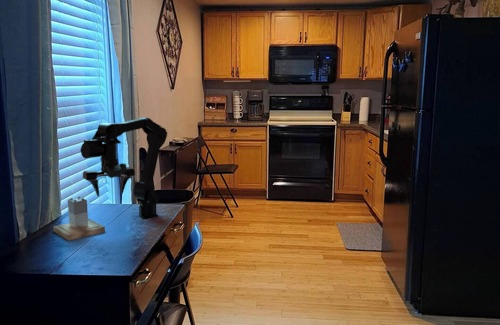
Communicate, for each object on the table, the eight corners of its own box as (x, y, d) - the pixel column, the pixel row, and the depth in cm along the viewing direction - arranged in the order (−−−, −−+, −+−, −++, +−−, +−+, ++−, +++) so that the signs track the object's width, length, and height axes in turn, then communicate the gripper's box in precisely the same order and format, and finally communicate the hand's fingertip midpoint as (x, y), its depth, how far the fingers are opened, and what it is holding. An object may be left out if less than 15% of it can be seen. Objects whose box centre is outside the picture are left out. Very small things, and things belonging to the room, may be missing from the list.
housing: (82, 222, 162) (80, 196, 160) (88, 226, 158) (86, 198, 157) (69, 225, 159) (67, 198, 157) (75, 229, 155) (73, 201, 153)
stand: (89, 223, 169) (88, 217, 168) (105, 231, 159) (104, 225, 159) (53, 231, 159) (53, 225, 159) (68, 240, 149) (67, 234, 149)
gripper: (89, 160, 148) (91, 202, 150) (139, 156, 159) (140, 196, 161) (81, 156, 157) (83, 196, 159) (129, 153, 168) (130, 190, 170)
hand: (110, 194), depth 162 cm, fingers open, 9 cm apart
